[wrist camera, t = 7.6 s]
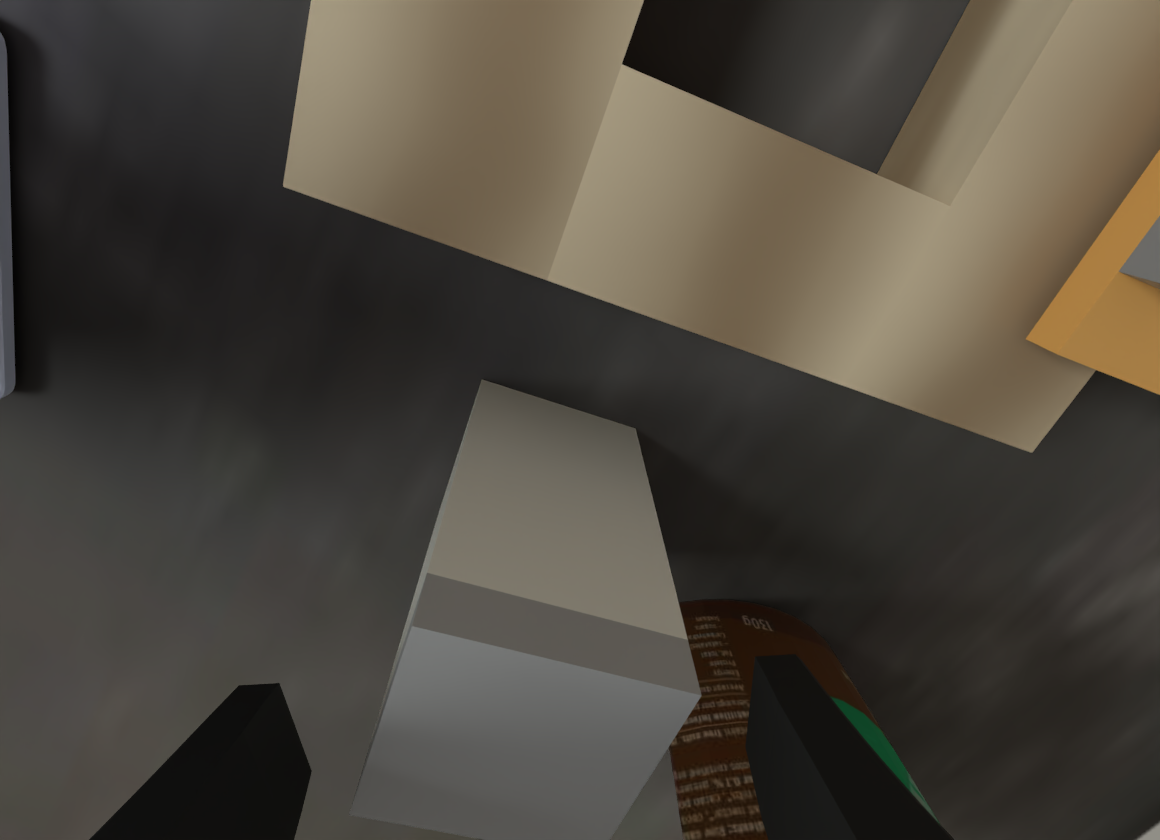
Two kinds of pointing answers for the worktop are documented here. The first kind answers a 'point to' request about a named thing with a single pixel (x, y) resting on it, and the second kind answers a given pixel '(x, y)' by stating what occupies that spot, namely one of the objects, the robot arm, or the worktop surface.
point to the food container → (720, 718)
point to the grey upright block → (534, 638)
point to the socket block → (754, 185)
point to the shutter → (1114, 294)
